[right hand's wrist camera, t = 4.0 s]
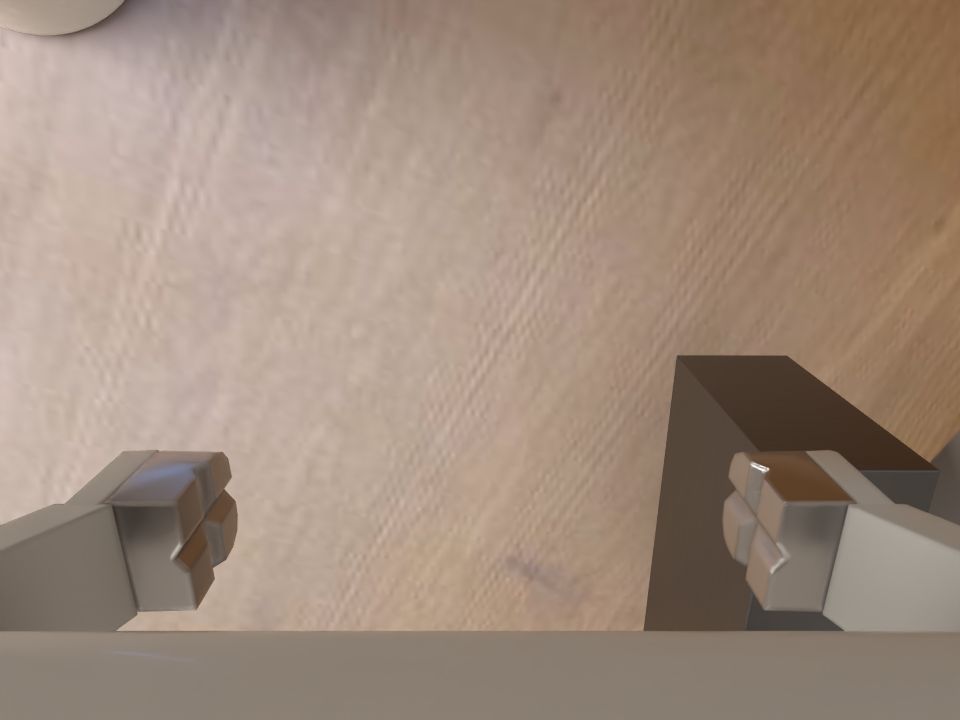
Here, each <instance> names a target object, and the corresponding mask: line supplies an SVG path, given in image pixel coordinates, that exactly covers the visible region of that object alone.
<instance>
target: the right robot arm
mask: <svg viewBox="0 0 960 720" xmlns="http://www.w3.org/2000/svg"><path fill="white" fill-rule="evenodd" d="M124 1H125V0H0V27H3V28H6V29H9V30H13V31H16V32H21V33H26V34H33V35H61V34H67V33H72V32H76V31H79V30H83V29H85V28H88V27H90V26H92V25H94V24H96V23H98V22H100V21H101V20H103V19H105V18H106V17H108V16H109V15H110V14H111V13H113V12H114V11H115V10H116V9H117V8H118V7H119V6H120V5H121V4H122V3H123V2H124ZM231 477H232V476H231V471H230V466H229V460H228V458H227V457H226V456H225V454H224V453H223V452H196V451H158V450H145V451H125V452H122V453H121V454H120V455H119V456H118V457H117V458H115V459H114V460H113V461H112V462H111V463H110V464H109V465H108V466H107V467H105V468H104V469H103V470H102V471H101V472H100V473H99V474H98V475H96V476H95V477H94V478H93V479H92V480H91V481H90V482H89V483H88V484H86V485H85V486H84V487H83V488H82V489H81V490H80V491H79V492H77V493H76V494H75V495H74V496H73V497H72V498H71V499H70V500H69V501H67V502H66V503H65V504H53V505H50V506H48V507H45V508H43V509H40V510H38V511H35V512H33V513H30V514H28V515H25V516H23V517H20V518H18V519H15V520H13V521H10V522H8V523H5V524H3V525H0V720H960V525H957V524H955V523H952V522H950V521H947V520H945V519H942V518H940V517H937V516H935V515H932V514H930V513H927V512H925V511H922V510H920V509H917V508H915V507H912V506H910V505H907V504H895V503H894V502H893V501H892V500H890V499H889V498H888V497H887V496H886V495H885V494H884V493H883V492H881V491H880V490H879V489H878V488H877V487H876V486H875V485H874V484H873V483H871V482H870V481H869V480H868V479H867V478H866V477H865V476H864V475H863V474H861V473H860V472H859V471H858V470H857V469H856V468H855V467H854V466H853V465H851V464H850V463H849V462H848V461H847V460H846V459H845V458H844V457H843V456H841V455H840V454H839V453H838V452H835V451H831V450H819V451H768V452H740V453H735V454H734V457H733V459H732V461H731V464H730V470H729V476H728V477H729V479H730V480H731V482H732V484H733V485H734V487H735V488H736V490H735V491H734V492H733V493H732V494H731V495H730V496H729V497H728V498H727V499H726V500H725V501H724V509H723V517H722V522H723V533H724V538H725V542H726V545H727V548H728V550H729V552H730V554H731V555H732V557H733V559H734V560H735V561H737V562H739V563H740V564H742V565H743V566H745V567H747V572H746V578H745V579H746V581H747V583H748V584H749V586H750V588H751V589H752V591H753V593H754V594H755V596H756V598H757V599H758V601H759V603H760V605H761V606H762V608H763V610H774V611H811V612H823V615H824V616H825V617H827V618H828V619H829V620H831V621H832V622H833V623H835V624H836V625H837V626H839V627H840V628H842V629H843V630H844V631H116V630H117V629H119V628H120V627H121V626H123V625H124V624H125V623H127V622H128V621H129V620H131V619H132V618H134V617H135V616H136V615H137V612H148V611H184V610H197V608H198V606H199V605H200V603H201V601H202V600H203V598H204V596H205V595H206V593H207V591H208V589H209V588H210V586H211V584H212V583H213V581H214V579H215V578H214V572H213V567H215V566H217V565H218V564H220V563H221V562H223V561H225V560H226V559H227V557H228V555H229V553H230V552H231V550H232V548H233V545H234V541H235V537H236V533H237V516H238V515H237V508H236V501H235V500H234V499H233V498H232V497H231V496H230V495H229V494H228V493H227V492H226V491H225V490H224V488H225V487H226V485H227V484H228V482H229V480H230V479H231Z"/></svg>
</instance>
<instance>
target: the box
mask: <svg viewBox="0 0 960 720" xmlns="http://www.w3.org/2000/svg"><path fill="white" fill-rule="evenodd" d="M819 450H831V451H835V452H838V453H839V454H840V455H841V456H843V457H844V458H845V459H846V460H847V461H848V462H849V463H850V464H851V465H853V466H854V467H855V468H856V469H857V470H858V471H859V472H860V473H861V474H863V475H864V476H865V477H866V478H867V479H868V480H869V481H870V482H871V483H873V484H874V485H875V486H876V487H877V488H878V489H879V490H880V491H881V492H883V493H884V494H885V495H886V496H887V497H888V498H889V499H890V500H892V501H893V502H894V503H895V504H907V505H910V506H912V507H915V508H917V509H920V510H922V511H925V512H927V513H928V510H929V507H930V503H931V500H932V497H933V493H934V490H935V487H936V484H937V480H938V477H939V474H940V471H939V470H938V469H937V468H936V467H934V466H933V465H932V464H930V463H929V462H928V461H926V460H925V459H924V458H922V457H921V456H920V455H918V454H917V453H916V452H914V451H913V450H912V449H910V448H909V447H908V446H906V445H905V444H904V443H902V442H901V441H900V440H898V439H897V438H896V437H894V436H893V435H892V434H890V433H889V432H888V431H886V430H885V429H884V428H882V427H881V426H880V425H878V424H877V423H876V422H874V421H873V420H872V419H870V418H869V417H868V416H866V415H865V414H864V413H862V412H861V411H860V410H858V409H857V408H856V407H854V406H853V405H852V404H850V403H849V402H848V401H846V400H845V399H844V398H842V397H841V396H840V395H838V394H837V393H836V392H834V391H833V390H832V389H830V388H829V387H828V386H826V385H825V384H824V383H822V382H821V381H820V380H818V379H817V378H816V377H814V376H813V375H812V374H810V373H809V372H808V371H806V370H805V369H804V368H802V367H801V366H800V365H799V364H797V363H796V362H795V361H793V360H792V359H791V358H789V357H788V356H677V360H676V368H675V376H674V384H673V393H672V401H671V409H670V417H669V426H668V434H667V442H666V450H665V459H664V467H663V475H662V483H661V492H660V500H659V508H658V516H657V525H656V533H655V541H654V549H653V558H652V566H651V574H650V582H649V591H648V599H647V607H646V615H645V624H644V631H844V630H843V629H842V628H840V627H839V626H837V625H836V624H835V623H833V622H832V621H831V620H829V619H828V618H827V617H825V616H824V615H823V612H811V611H774V610H763V608H762V606H761V605H760V603H759V601H758V599H757V598H756V596H755V594H754V593H753V591H752V589H751V588H750V586H749V584H748V583H747V581H746V579H745V578H746V572H747V567H745V566H743V565H742V564H740V563H739V562H737V561H735V560H734V559H733V557H732V555H731V554H730V552H729V550H728V548H727V545H726V542H725V538H724V533H723V522H722V517H723V509H724V501H725V500H726V499H727V498H728V497H729V496H730V495H731V494H732V493H733V492H734V491H735V490H736V488H735V487H734V485H733V484H732V482H731V480H730V479H729V477H728V476H729V470H730V464H731V461H732V459H733V457H734V454H735V453H740V452H768V451H819Z"/></svg>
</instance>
